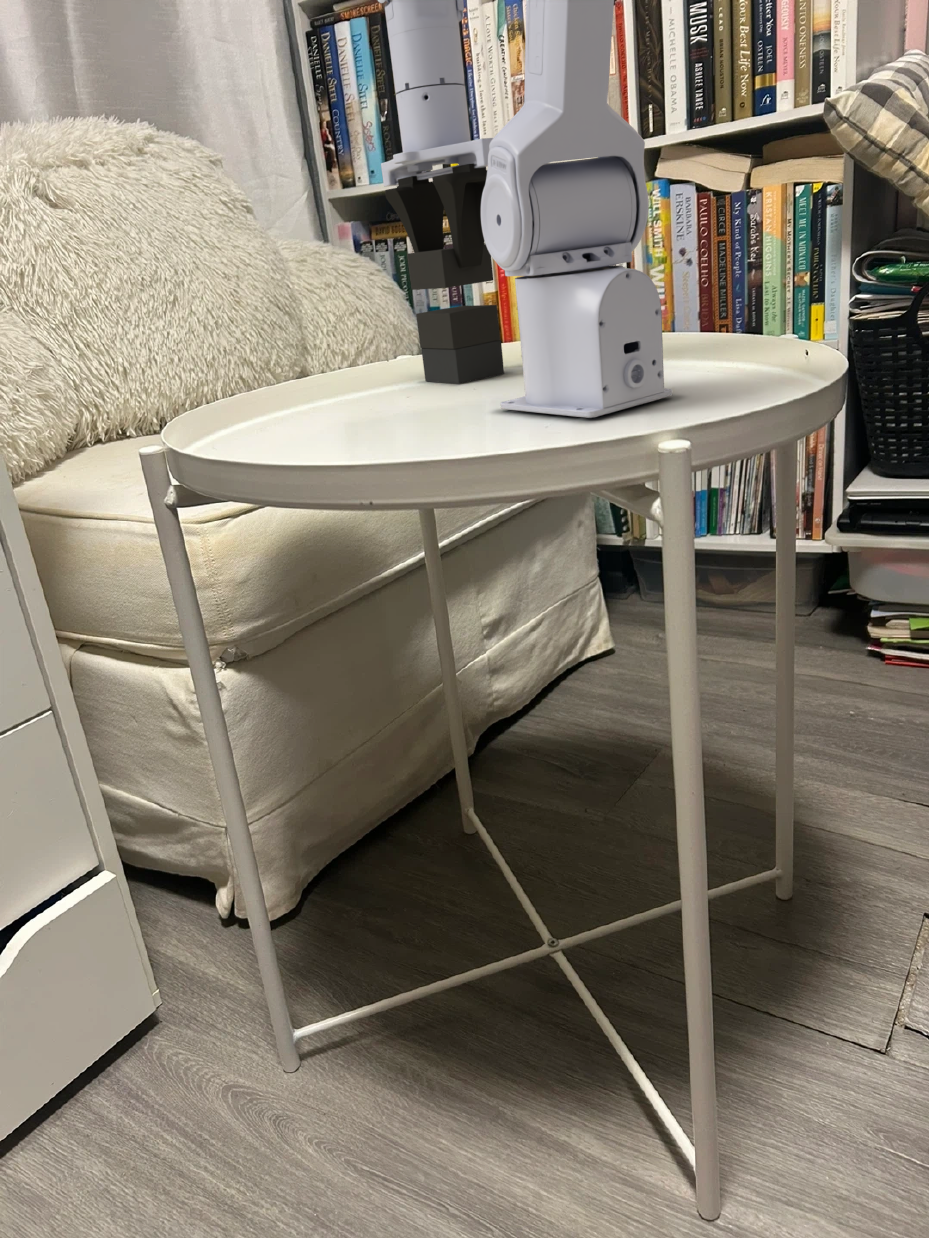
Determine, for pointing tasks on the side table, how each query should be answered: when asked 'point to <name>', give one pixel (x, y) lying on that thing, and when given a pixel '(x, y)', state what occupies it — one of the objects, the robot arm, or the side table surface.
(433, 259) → the pad top
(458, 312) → the pad middle
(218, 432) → the side table surface
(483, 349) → the pad base
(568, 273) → the robot arm
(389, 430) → the side table surface
